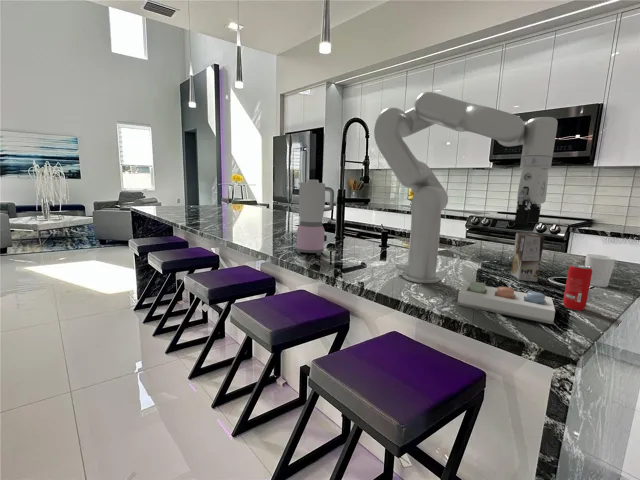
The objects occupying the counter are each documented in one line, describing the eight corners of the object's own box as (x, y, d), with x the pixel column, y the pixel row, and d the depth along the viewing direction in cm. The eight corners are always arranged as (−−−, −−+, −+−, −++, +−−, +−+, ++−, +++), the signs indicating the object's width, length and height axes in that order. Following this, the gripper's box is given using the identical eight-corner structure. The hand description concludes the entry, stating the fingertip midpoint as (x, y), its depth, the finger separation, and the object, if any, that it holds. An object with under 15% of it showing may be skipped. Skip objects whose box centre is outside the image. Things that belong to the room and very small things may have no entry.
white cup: (603, 282, 124) (609, 255, 122) (614, 289, 116) (619, 260, 114) (577, 280, 126) (582, 253, 124) (586, 285, 119) (591, 257, 117)
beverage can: (557, 304, 98) (564, 263, 96) (574, 304, 99) (581, 263, 97) (572, 311, 93) (580, 268, 91) (590, 311, 94) (598, 268, 92)
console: (457, 304, 94) (458, 292, 94) (463, 293, 105) (464, 282, 104) (553, 324, 84) (555, 311, 83) (549, 309, 94) (551, 297, 93)
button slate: (525, 304, 89) (527, 294, 89) (525, 299, 93) (527, 290, 92) (544, 307, 88) (545, 297, 87) (543, 302, 91) (544, 293, 90)
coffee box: (538, 282, 121) (545, 236, 118) (518, 280, 122) (525, 235, 119) (528, 275, 130) (534, 233, 127) (509, 273, 131) (515, 231, 128)
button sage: (468, 293, 96) (469, 284, 96) (469, 289, 100) (471, 281, 99) (483, 296, 94) (485, 287, 94) (485, 292, 98) (486, 283, 97)
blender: (294, 255, 147) (296, 179, 141) (296, 249, 159) (299, 179, 153) (331, 256, 146) (335, 180, 141) (330, 250, 158) (334, 180, 153)
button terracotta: (495, 298, 93) (497, 289, 92) (496, 294, 96) (498, 285, 96) (512, 301, 91) (514, 292, 90) (513, 297, 94) (514, 288, 94)
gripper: (541, 161, 89) (531, 226, 92) (559, 165, 101) (550, 223, 104) (510, 161, 95) (501, 223, 98) (530, 165, 106) (522, 220, 109)
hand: (526, 223), depth 101 cm, fingers open, 9 cm apart
